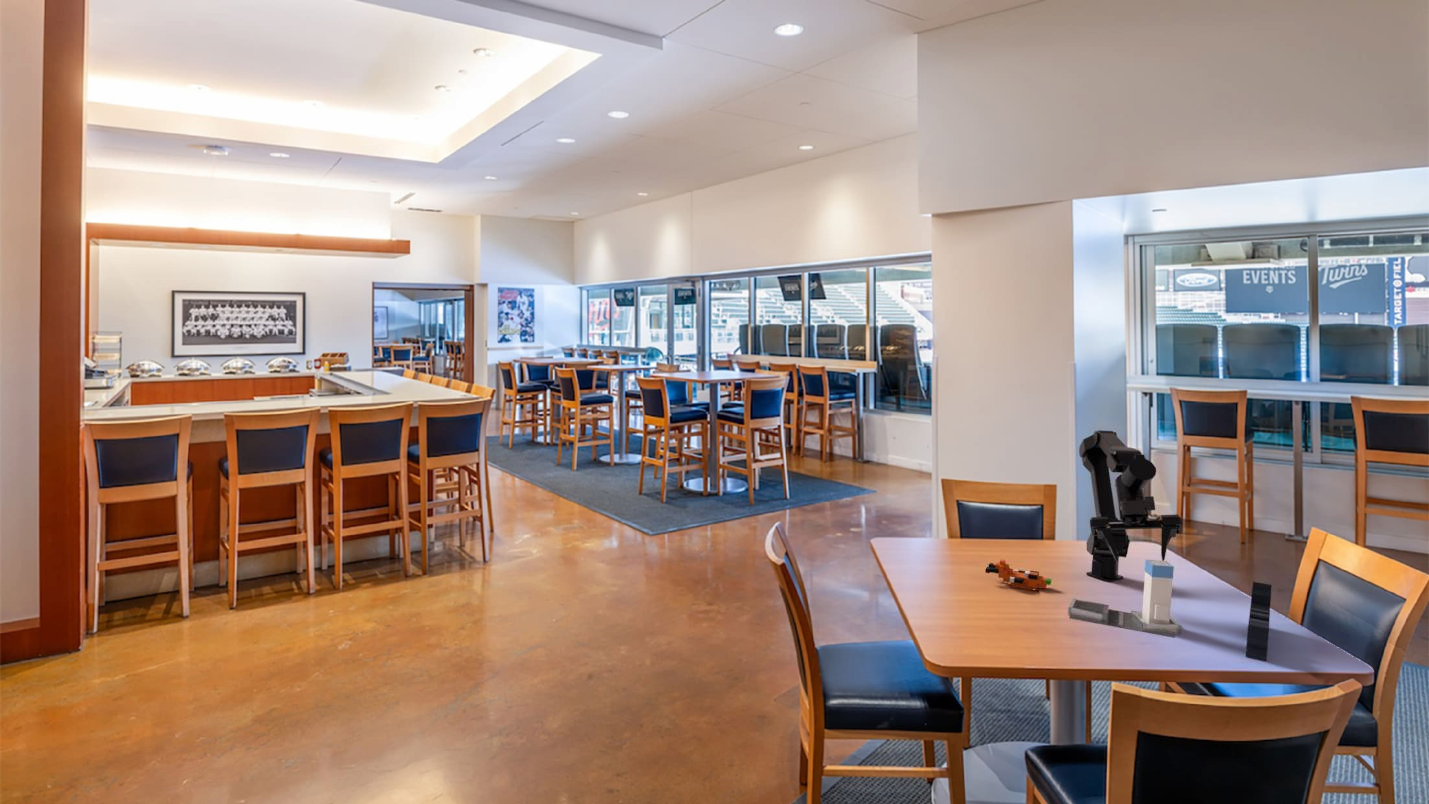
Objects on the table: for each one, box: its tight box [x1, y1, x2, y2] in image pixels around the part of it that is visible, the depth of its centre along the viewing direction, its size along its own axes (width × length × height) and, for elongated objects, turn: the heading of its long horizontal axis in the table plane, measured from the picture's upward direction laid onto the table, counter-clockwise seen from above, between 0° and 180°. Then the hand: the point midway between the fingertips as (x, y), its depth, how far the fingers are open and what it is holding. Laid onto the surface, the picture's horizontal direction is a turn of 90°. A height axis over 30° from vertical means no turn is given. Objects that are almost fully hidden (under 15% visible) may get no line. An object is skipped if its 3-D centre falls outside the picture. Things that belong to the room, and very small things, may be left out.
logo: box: [1245, 581, 1272, 662], centre depth 152 cm, size 24×3×10 cm, turn 142°
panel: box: [1069, 607, 1176, 639], centre depth 162 cm, size 20×11×1 cm, turn 60°
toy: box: [984, 558, 1052, 591], centre depth 185 cm, size 8×6×15 cm
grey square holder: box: [1067, 598, 1110, 622], centre depth 166 cm, size 7×7×2 cm
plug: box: [1141, 559, 1175, 624], centre depth 158 cm, size 5×4×14 cm
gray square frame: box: [1130, 610, 1182, 635], centre depth 159 cm, size 7×7×2 cm
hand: (1140, 560), depth 167 cm, fingers open, 9 cm apart
